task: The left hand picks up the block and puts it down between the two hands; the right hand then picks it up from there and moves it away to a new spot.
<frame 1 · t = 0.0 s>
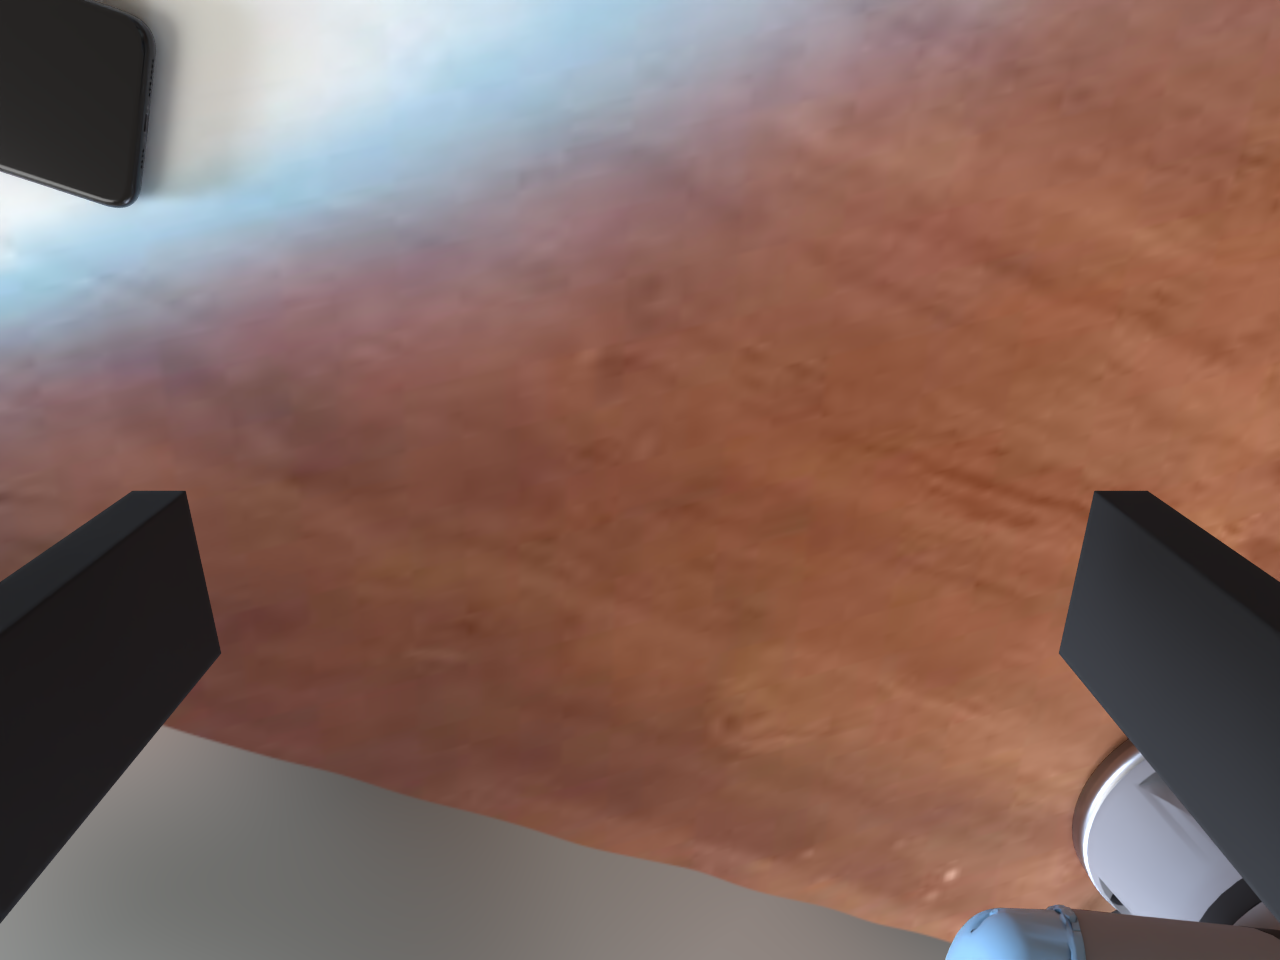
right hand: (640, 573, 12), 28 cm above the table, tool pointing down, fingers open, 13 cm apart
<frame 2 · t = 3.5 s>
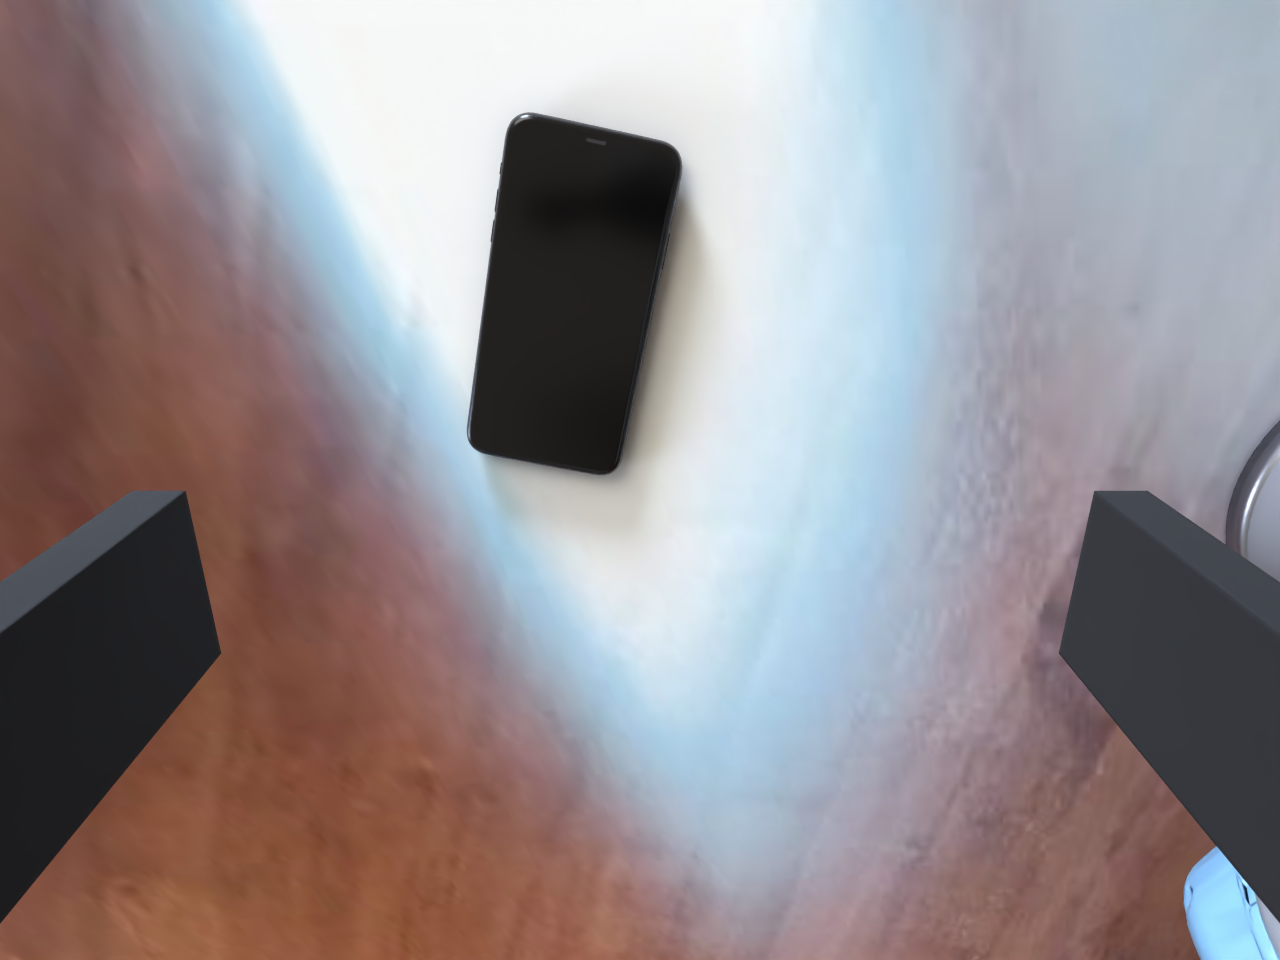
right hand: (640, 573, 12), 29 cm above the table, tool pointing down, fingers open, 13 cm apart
smartphone: (569, 305, 40), on the table
when the left hand's fingers open (5 cm above the table, at t = 11.8 s): block drops 1 cm, on the table.
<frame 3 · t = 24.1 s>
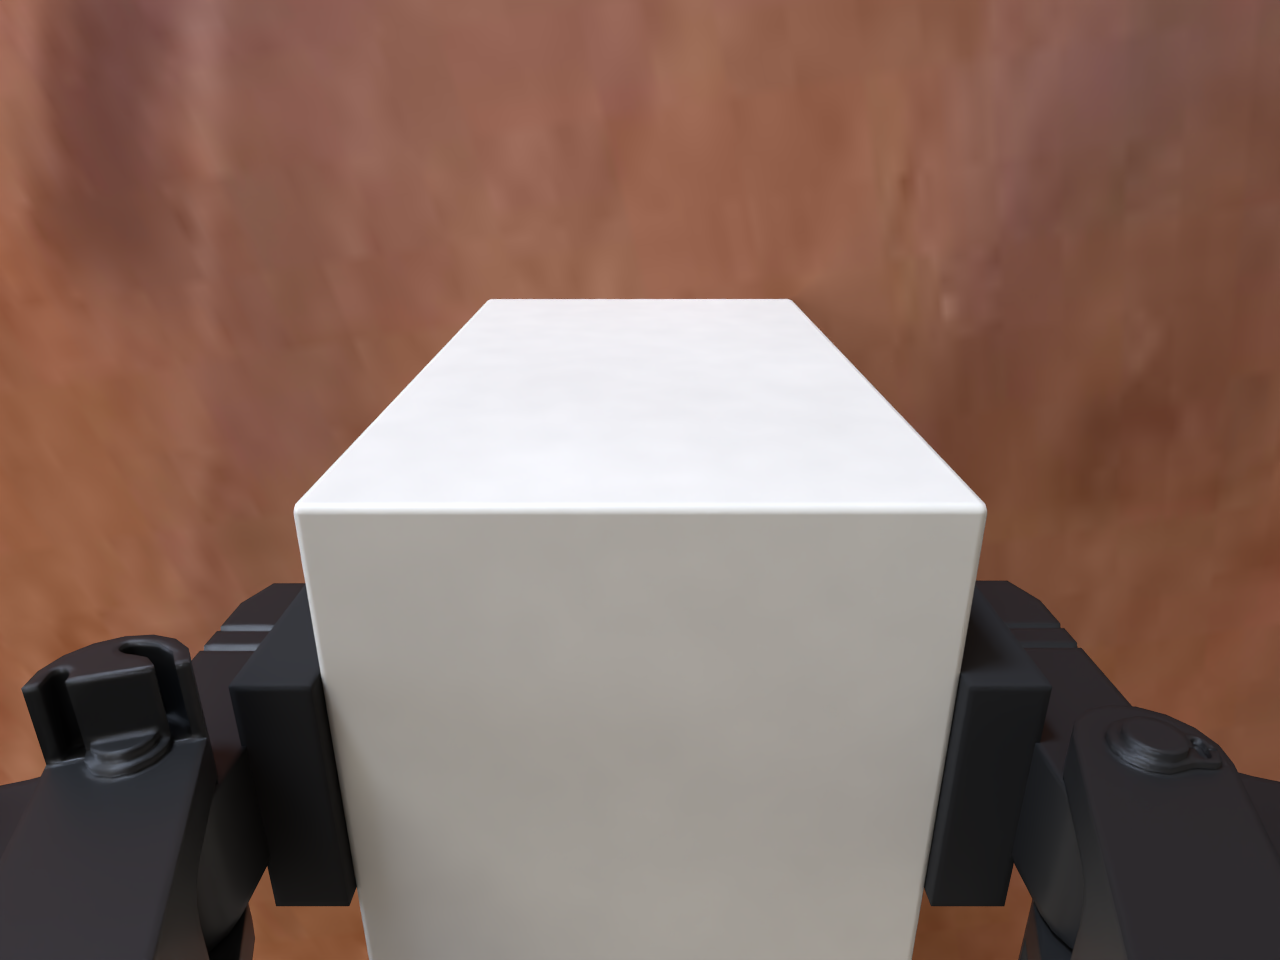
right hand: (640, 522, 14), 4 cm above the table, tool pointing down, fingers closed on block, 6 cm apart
block: (639, 448, 18), on the table, touching right hand
when the right hand's fingers open (5 cm above the table, at t = 37.7 s): block drops 1 cm, on the table.
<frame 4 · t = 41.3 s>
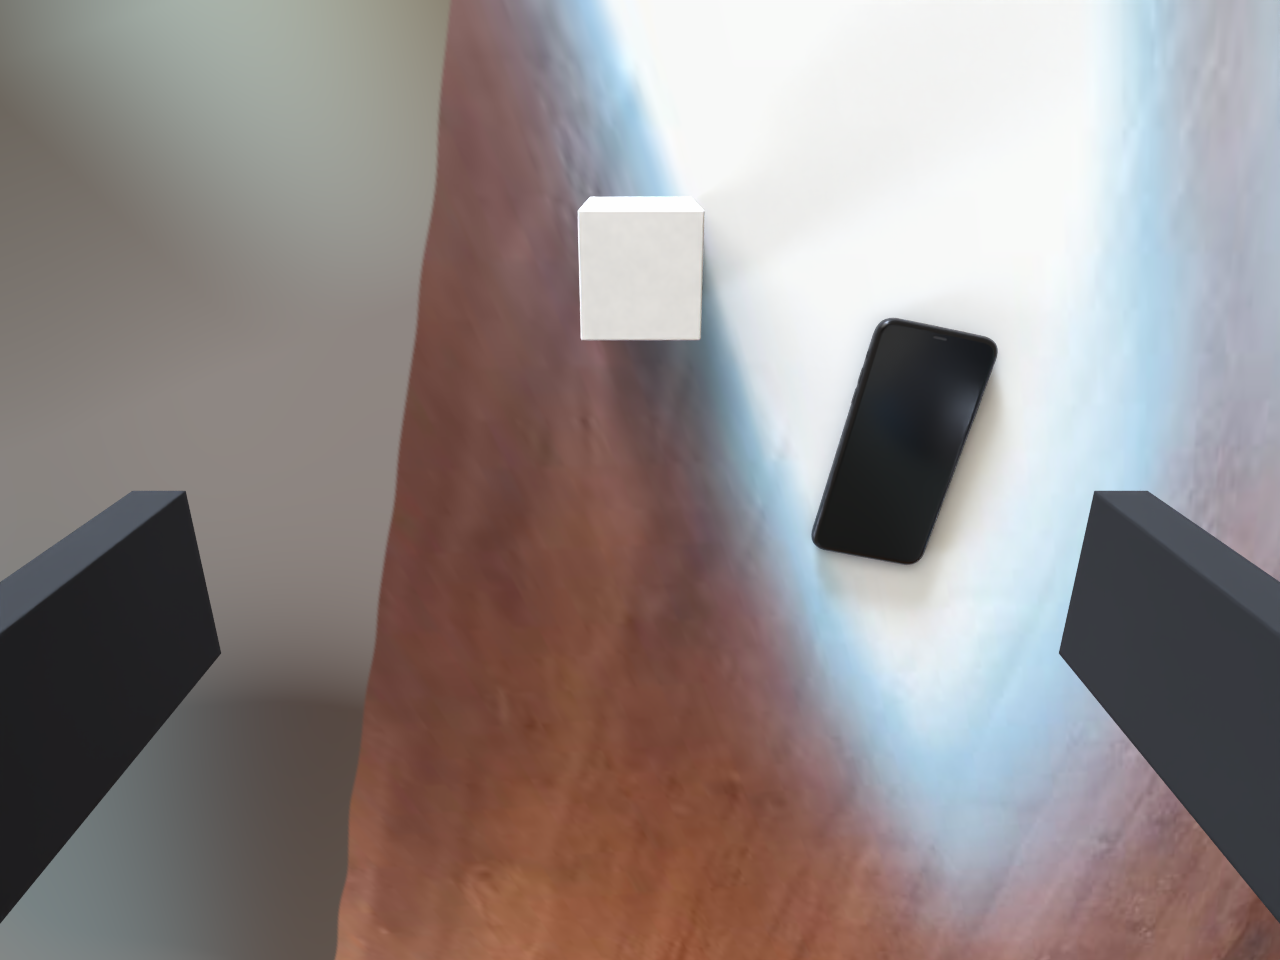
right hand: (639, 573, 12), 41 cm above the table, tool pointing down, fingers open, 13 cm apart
smartphone: (897, 444, 55), on the table
block: (640, 251, 50), on the table
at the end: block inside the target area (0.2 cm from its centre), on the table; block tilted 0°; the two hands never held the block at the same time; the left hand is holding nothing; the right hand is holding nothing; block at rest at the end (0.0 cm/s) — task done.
